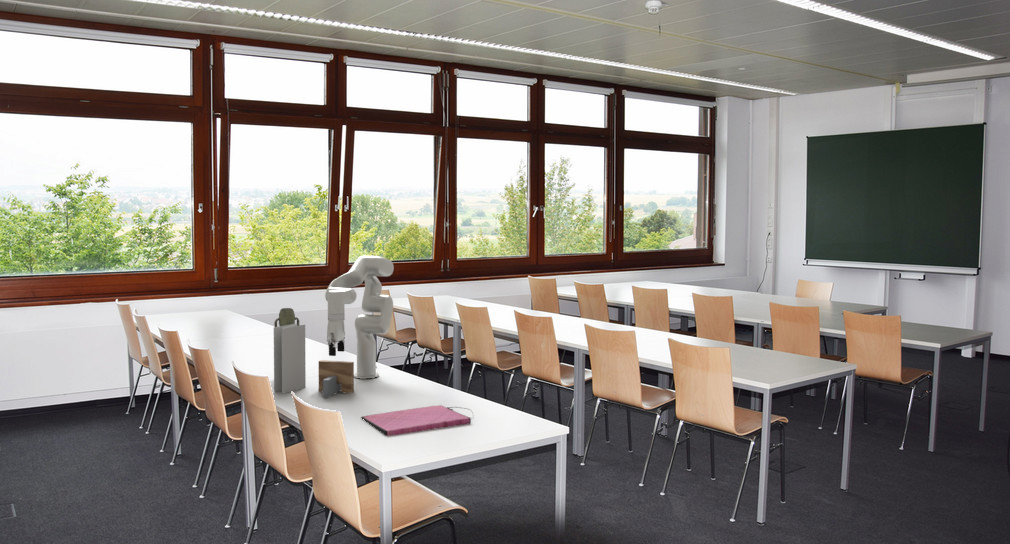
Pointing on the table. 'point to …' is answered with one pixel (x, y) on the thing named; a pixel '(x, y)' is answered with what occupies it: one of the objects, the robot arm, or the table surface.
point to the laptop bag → (416, 419)
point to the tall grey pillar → (289, 358)
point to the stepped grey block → (330, 386)
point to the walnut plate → (337, 374)
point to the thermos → (286, 317)
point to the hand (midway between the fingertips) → (336, 353)
